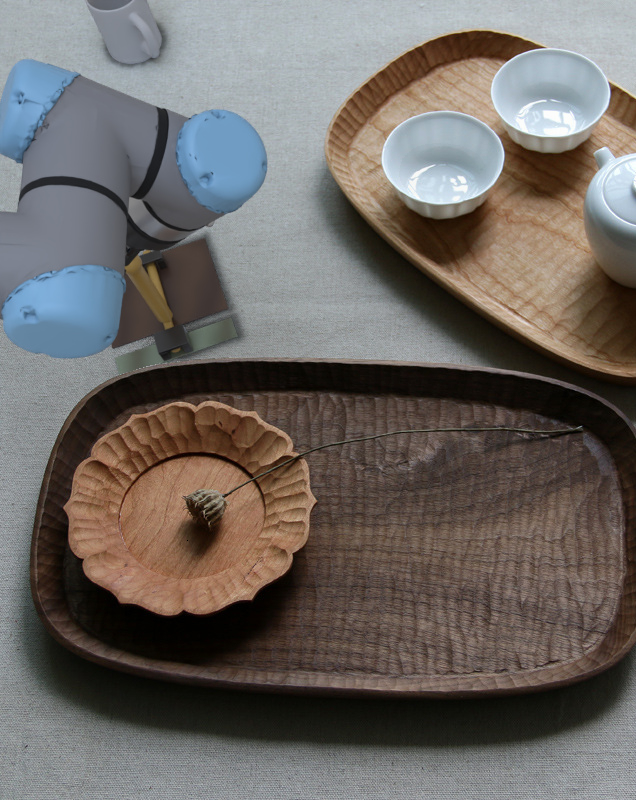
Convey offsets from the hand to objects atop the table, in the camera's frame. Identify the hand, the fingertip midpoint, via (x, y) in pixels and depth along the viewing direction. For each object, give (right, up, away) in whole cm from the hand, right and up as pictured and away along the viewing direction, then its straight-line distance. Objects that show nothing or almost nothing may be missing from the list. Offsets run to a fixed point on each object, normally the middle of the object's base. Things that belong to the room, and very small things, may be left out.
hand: (96, 251), depth 93 cm
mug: (-6, +38, +35) cm, 52 cm away
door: (+3, -5, +17) cm, 18 cm away
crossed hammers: (+3, -4, +16) cm, 16 cm away
